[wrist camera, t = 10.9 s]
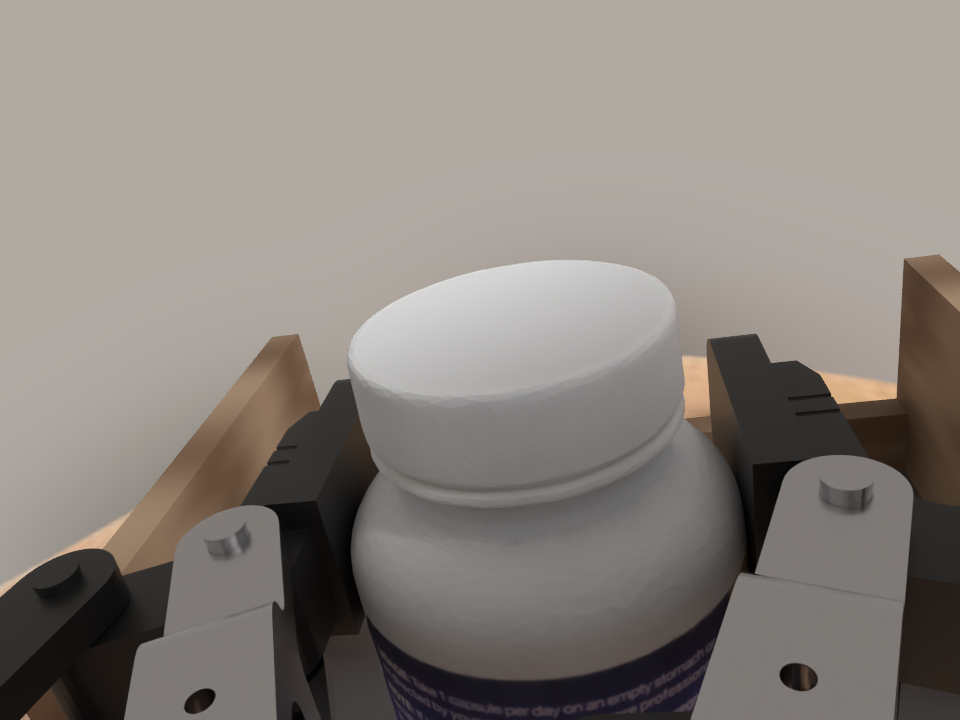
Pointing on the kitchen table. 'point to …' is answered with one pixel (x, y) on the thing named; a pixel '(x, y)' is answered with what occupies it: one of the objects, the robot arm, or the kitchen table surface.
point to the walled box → (877, 424)
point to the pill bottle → (539, 498)
